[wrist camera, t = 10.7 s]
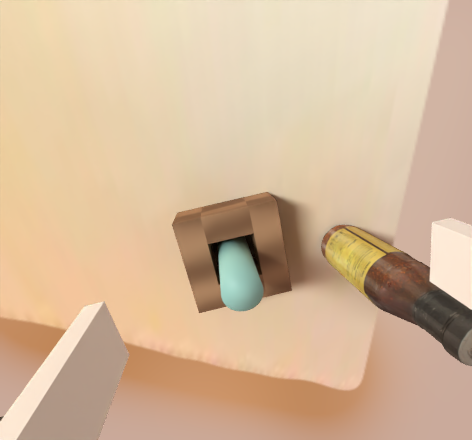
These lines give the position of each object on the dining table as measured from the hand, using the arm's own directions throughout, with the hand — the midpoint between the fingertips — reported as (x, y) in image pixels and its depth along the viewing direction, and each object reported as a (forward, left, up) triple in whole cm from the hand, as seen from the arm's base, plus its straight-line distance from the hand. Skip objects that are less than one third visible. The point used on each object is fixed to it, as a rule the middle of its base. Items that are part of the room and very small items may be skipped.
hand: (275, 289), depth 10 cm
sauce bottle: (+11, +14, -24) cm, 30 cm away
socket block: (+8, -1, -24) cm, 25 cm away
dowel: (+8, -1, -24) cm, 25 cm away
